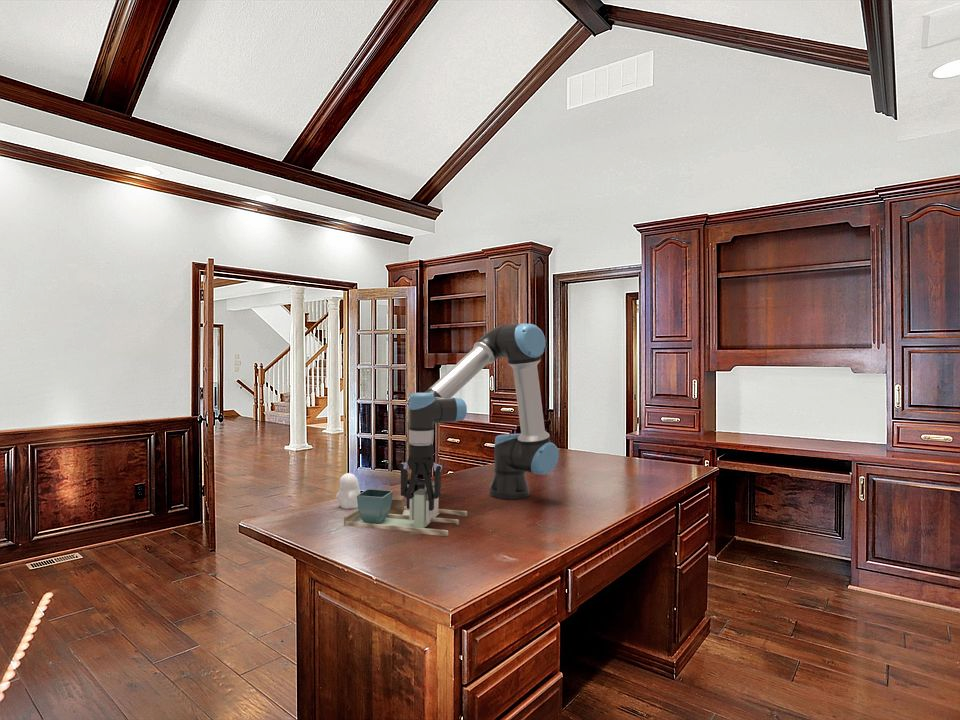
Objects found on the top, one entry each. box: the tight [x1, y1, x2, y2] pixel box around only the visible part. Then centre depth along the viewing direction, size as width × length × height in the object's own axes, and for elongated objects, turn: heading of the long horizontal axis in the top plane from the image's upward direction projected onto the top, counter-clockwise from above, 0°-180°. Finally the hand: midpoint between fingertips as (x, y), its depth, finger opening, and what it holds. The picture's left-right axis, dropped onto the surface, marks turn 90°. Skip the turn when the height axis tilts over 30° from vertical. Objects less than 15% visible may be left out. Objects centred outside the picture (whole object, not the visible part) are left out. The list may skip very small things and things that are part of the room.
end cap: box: [407, 477, 425, 497], centre depth 207 cm, size 10×7×7 cm
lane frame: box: [343, 505, 468, 537], centre depth 176 cm, size 33×22×3 cm
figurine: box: [336, 472, 361, 510], centre depth 191 cm, size 7×8×12 cm
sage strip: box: [356, 489, 431, 528], centre depth 172 cm, size 22×10×11 cm, turn 76°
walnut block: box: [388, 495, 405, 515], centre depth 184 cm, size 5×5×5 cm
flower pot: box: [357, 488, 394, 524], centre depth 174 cm, size 9×9×9 cm
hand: (420, 520), depth 170 cm, fingers open, 4 cm apart
